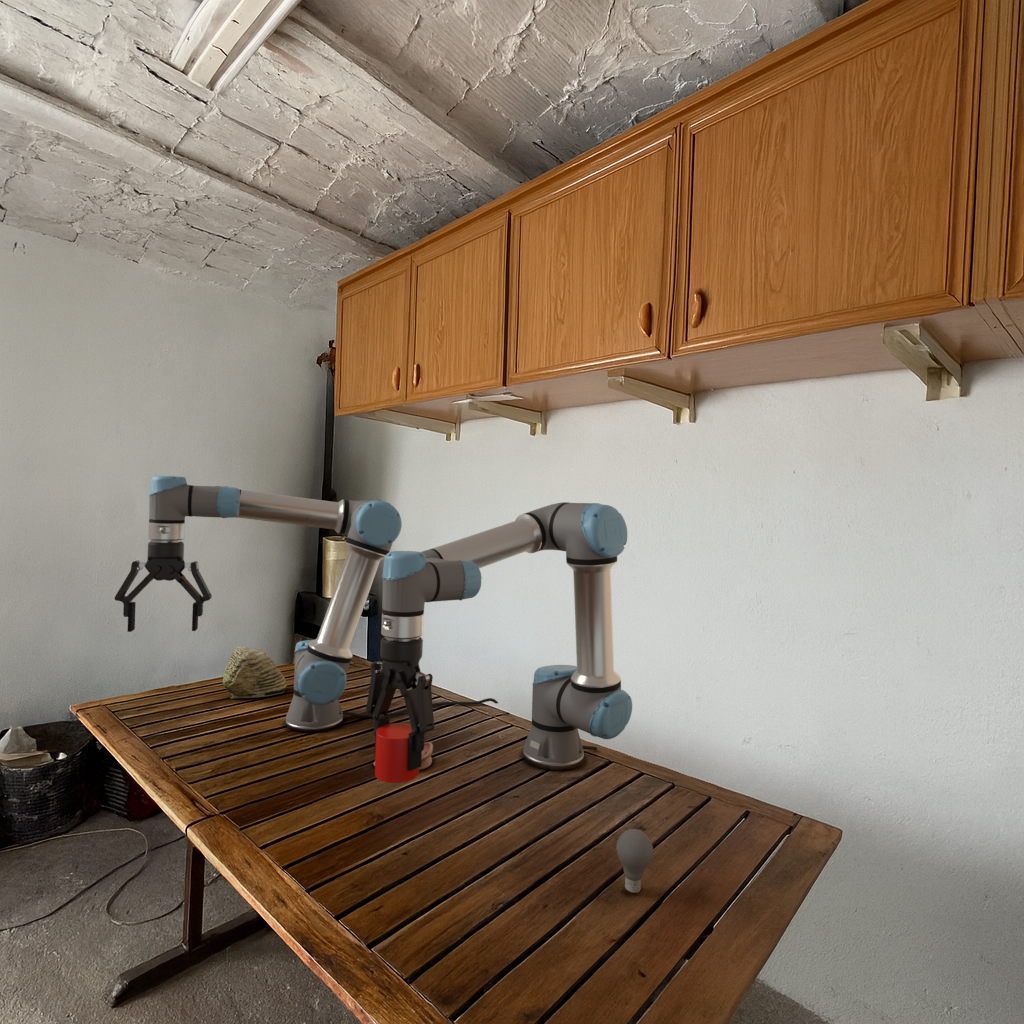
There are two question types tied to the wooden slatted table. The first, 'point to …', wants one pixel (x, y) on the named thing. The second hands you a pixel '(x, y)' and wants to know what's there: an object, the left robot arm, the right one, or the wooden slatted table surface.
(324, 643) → the left robot arm
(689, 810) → the wooden slatted table surface
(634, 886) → the light bulb
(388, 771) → the canister
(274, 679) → the fossil
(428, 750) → the anatomical model
